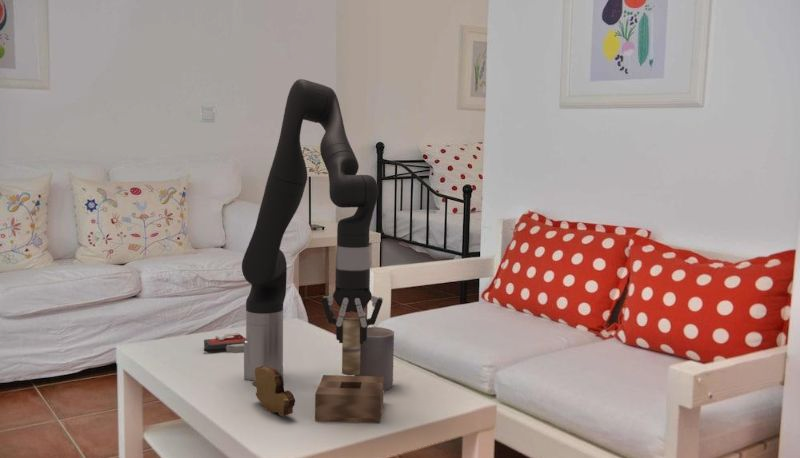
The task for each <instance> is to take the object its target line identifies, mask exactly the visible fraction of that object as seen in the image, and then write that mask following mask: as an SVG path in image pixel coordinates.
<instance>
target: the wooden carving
mask: <svg viewBox="0 0 800 458" xmlns="http://www.w3.org/2000/svg"><path fill="white" fill-rule="evenodd" d="M283 376H284V375H283ZM283 376H282V375H281V373H280V372H278V371H277V370H276V369H274V368H273V367H271V366H262V367H257V368H255V377H256V380H255V381H253V380H252V381H251V382H252V383H251V384H252V386H253V387H255V388H256V392H255V396H256V398H257V399H258V401H259V403H260V404H261V405H262V407H263V408H264V409H265V410H266V411H268V412H270V413H272V414H274V413H278V415H280V416H281V417H286V416H289V415H291V414H293V412H294V410H293V409H294V406H295V405H296V398H295V396H294V394H293V393H292V392H291V390H288V389H287V390H285V387H284V385H285V382H284V377H283Z"/></svg>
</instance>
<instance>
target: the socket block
mask: <svg viewBox="0 0 800 458" xmlns="http://www.w3.org/2000/svg"><path fill="white" fill-rule="evenodd" d="M384 392H385V391H384V377H375V376H354V375H339V374H338V375H337V374H336V375H333V374H330V375H329V374H323V376H322V377H321V380H320V382H319V384H318V387H317V389H316V391H315V397H314V409H315V410H314V421H315V422H332V423H333V422H335V423H336V422H337V423H366V424H367V423H368V424H381V419H382V414H383V407H384Z"/></svg>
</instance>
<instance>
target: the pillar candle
mask: <svg viewBox="0 0 800 458" xmlns="http://www.w3.org/2000/svg"><path fill="white" fill-rule="evenodd" d="M394 347H395V331H394V330H392V329H389V328H387V327H381V326H379V327H378V326H374V325H373V326H368V327H367V339H366V341H364V343H363V344H360V374H358V375H353V376H375V377H384V392H385V390H386V391H388V390H389V389H391V388H392V387H394V386H393V384H394V383H393V382H394V351H395V349H394Z"/></svg>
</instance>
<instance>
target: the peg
mask: <svg viewBox="0 0 800 458" xmlns="http://www.w3.org/2000/svg"><path fill="white" fill-rule="evenodd" d="M342 325H343V338H342V343H341V345H342V347H341V350H342V351H341V353H342V355H341V373H342V375H343V376H354V375H358V374H360V327H361V322H360V318H359V317H358V318H357V317H344V319H343V324H342Z"/></svg>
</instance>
